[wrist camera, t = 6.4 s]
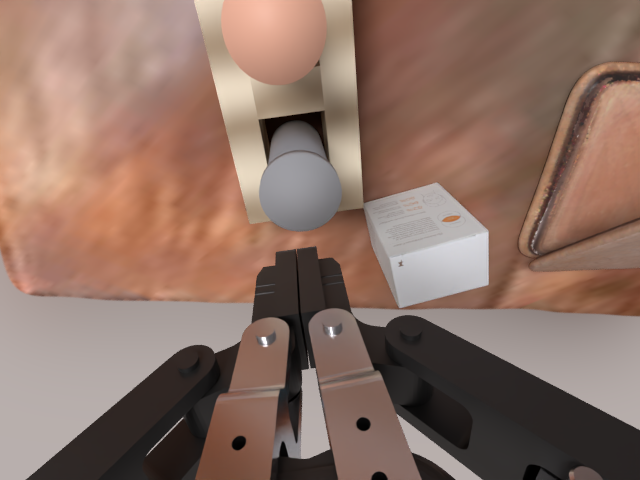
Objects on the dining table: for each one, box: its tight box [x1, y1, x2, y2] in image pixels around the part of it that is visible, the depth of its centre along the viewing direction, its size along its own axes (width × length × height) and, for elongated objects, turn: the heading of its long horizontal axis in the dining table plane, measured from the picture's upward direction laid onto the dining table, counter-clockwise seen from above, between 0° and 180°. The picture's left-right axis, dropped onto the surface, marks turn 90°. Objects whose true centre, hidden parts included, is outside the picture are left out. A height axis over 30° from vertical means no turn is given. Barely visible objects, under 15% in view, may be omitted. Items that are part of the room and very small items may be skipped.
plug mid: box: [221, 0, 327, 85], centre depth 20 cm, size 5×5×10 cm
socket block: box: [194, 0, 364, 224], centre depth 26 cm, size 28×10×5 cm, turn 7°
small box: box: [363, 183, 489, 308], centre depth 33 cm, size 8×6×10 cm
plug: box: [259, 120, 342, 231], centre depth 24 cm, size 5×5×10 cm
